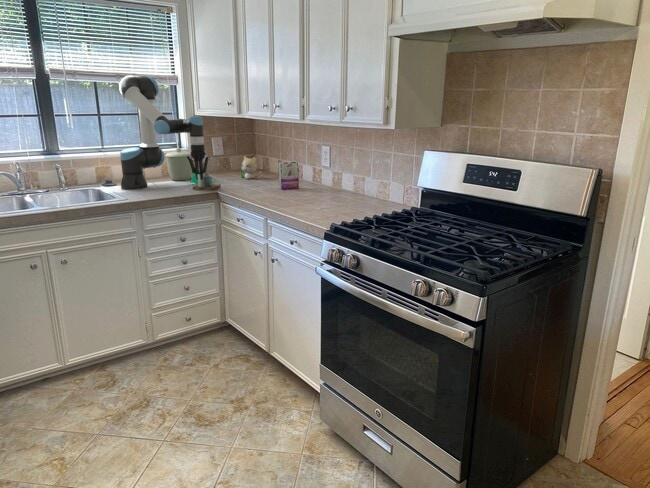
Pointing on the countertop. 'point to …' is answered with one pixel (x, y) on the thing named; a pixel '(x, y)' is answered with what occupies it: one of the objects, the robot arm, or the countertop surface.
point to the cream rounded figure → (249, 168)
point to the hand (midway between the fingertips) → (200, 185)
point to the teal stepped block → (207, 181)
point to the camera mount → (195, 179)
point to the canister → (178, 165)
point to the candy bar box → (288, 175)
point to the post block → (211, 188)
